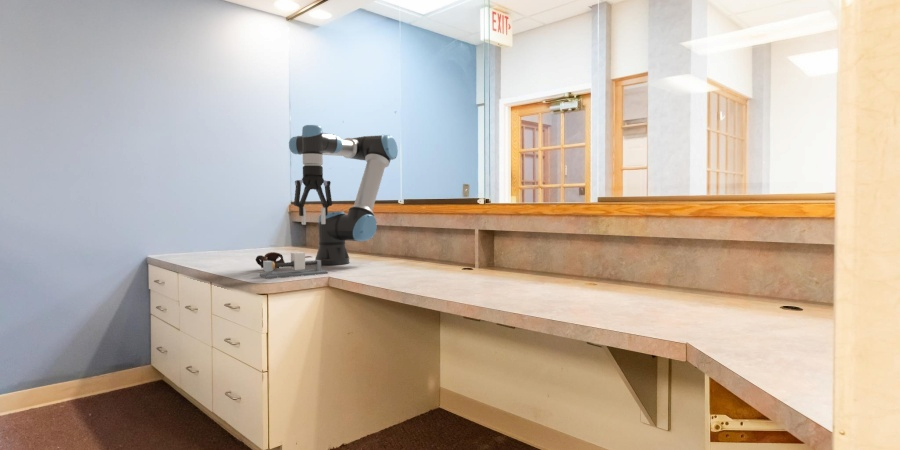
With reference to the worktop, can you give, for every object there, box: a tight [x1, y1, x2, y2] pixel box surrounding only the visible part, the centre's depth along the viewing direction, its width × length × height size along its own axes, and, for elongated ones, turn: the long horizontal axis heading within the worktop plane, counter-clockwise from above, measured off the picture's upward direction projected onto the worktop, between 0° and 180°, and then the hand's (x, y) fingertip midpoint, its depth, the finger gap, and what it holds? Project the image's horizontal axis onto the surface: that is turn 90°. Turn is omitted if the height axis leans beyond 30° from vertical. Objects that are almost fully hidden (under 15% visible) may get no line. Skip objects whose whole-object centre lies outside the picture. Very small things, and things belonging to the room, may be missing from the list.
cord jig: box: [259, 259, 329, 279], centre depth 196 cm, size 23×10×6 cm, turn 125°
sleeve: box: [290, 251, 306, 271], centre depth 197 cm, size 4×5×6 cm
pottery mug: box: [255, 251, 286, 269], centre depth 210 cm, size 12×10×8 cm
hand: (313, 224), depth 200 cm, fingers open, 7 cm apart
